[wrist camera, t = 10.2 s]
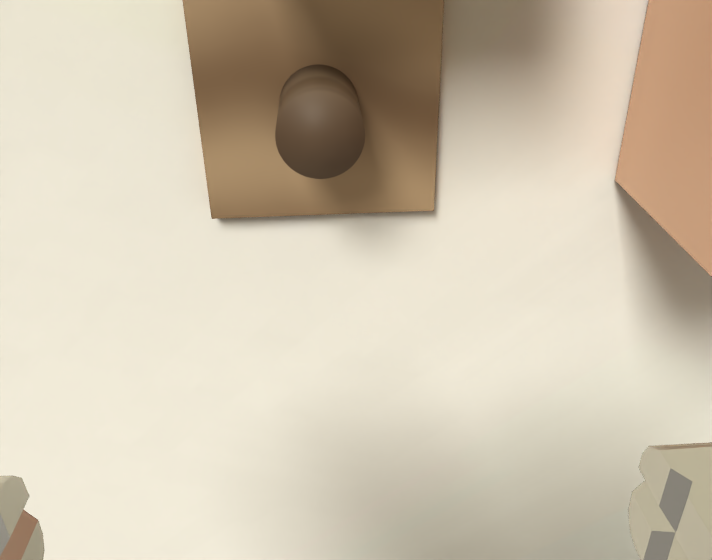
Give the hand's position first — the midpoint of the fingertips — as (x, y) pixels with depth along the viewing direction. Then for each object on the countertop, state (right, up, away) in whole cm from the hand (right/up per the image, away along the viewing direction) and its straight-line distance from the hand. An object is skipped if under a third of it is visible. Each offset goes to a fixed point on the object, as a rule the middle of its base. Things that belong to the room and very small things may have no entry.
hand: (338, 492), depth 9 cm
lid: (-1, +10, +16) cm, 19 cm away
